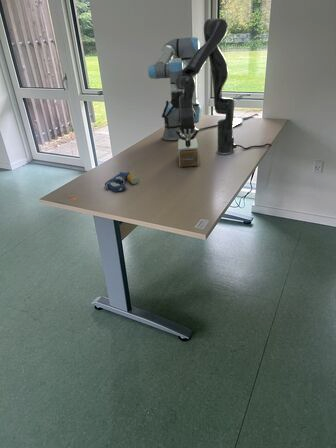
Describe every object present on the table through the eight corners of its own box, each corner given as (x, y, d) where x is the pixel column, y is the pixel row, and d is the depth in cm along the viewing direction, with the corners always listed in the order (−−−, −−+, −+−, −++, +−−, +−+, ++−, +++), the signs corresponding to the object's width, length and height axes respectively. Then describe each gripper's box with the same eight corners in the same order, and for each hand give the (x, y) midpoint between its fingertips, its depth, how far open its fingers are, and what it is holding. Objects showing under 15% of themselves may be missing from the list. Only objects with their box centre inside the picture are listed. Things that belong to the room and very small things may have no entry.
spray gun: (144, 178, 188) (122, 175, 194) (143, 171, 185) (120, 168, 192) (124, 194, 172) (101, 191, 179) (123, 187, 170) (99, 184, 176)
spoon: (235, 135, 247) (235, 132, 245) (221, 135, 250) (220, 132, 249) (243, 119, 273) (243, 117, 272) (230, 119, 276) (230, 117, 275)
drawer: (198, 168, 191) (197, 153, 187) (180, 170, 192) (179, 155, 187) (196, 155, 211) (196, 141, 206) (180, 156, 211) (179, 142, 207)
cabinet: (198, 165, 198) (198, 147, 193) (179, 166, 199) (178, 148, 193) (197, 154, 214) (196, 137, 208) (179, 156, 215) (178, 139, 209)
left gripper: (154, 93, 189) (158, 131, 200) (199, 91, 186) (200, 129, 197) (156, 91, 195) (160, 127, 206) (199, 88, 192) (200, 125, 203)
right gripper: (174, 118, 176) (176, 149, 185) (199, 116, 175) (200, 148, 184) (174, 114, 182) (176, 145, 191) (198, 112, 181) (199, 143, 190)
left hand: (179, 128), depth 202 cm, fingers open, 13 cm apart
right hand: (188, 146), depth 188 cm, fingers closed
